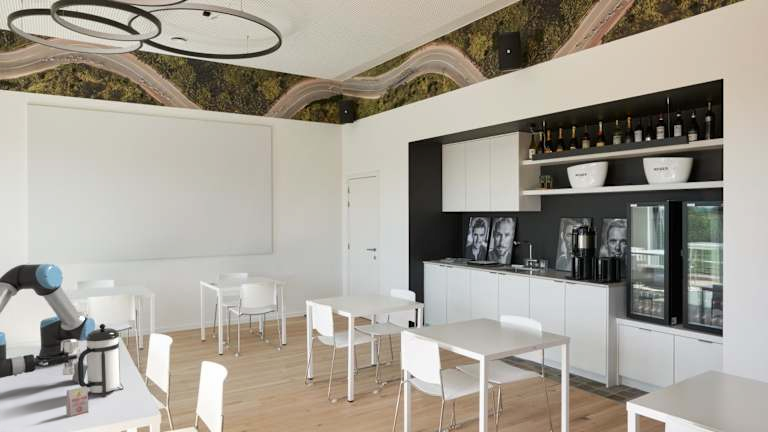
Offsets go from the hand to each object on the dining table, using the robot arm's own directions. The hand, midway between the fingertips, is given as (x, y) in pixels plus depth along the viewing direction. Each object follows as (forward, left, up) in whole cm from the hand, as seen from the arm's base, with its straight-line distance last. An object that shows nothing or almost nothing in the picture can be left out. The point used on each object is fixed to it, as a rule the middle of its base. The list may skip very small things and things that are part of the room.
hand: (81, 353), depth 245 cm
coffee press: (+12, +23, -13) cm, 29 cm away
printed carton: (+33, +31, -13) cm, 47 cm away
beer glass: (+4, -3, -8) cm, 10 cm away
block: (+2, -1, -13) cm, 13 cm away
